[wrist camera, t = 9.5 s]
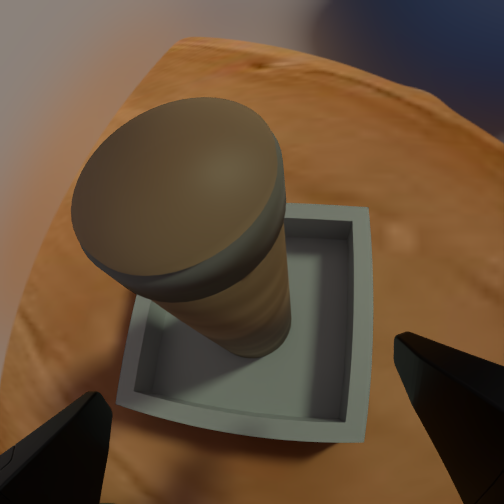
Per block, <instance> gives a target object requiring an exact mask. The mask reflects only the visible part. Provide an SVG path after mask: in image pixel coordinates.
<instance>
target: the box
mask: <svg viewBox="0 0 504 504" xmlns="http://www.w3.org/2000/svg"><path fill="white" fill-rule="evenodd" d="M284 231H285V242H286V253H287V265H288V277H289V290H290V304H291V318H292V320H291V328H290V331H289V334H288V336H287V338H286V340H285V341H284V343H283V344H282V345H281V346H280V347H279V348H278V349H277V350H275V351H274V352H272V353H270V354H268V355H266V356H263V357H259V358H244V357H240V356H237V355H235V354H233V353H231V352H229V351H228V350H226V349H224V348H223V347H221V346H219V345H218V344H216V343H215V342H213V341H211V340H210V339H208V338H207V337H205V336H203V335H202V334H200V333H199V332H197V331H196V330H194V329H193V328H191V327H190V326H188V325H187V324H185V323H183V322H182V321H180V320H179V319H177V318H176V317H175V316H173V315H172V314H170V313H169V312H167V311H166V310H164V309H163V308H161V307H160V306H159V305H157V304H156V303H154V302H153V301H151V300H150V299H146V298H144V297H142V296H139V295H137V296H136V300H135V304H134V308H133V313H132V317H131V322H130V326H129V331H128V336H127V340H126V345H125V351H124V356H123V361H122V367H121V373H120V378H119V385H118V391H117V398H116V404H117V405H120V406H123V407H126V408H129V409H132V410H135V411H138V412H142V413H145V414H149V415H152V416H156V417H159V418H163V419H167V420H171V421H175V422H179V423H183V424H187V425H191V426H196V427H201V428H206V429H211V430H216V431H221V432H227V433H233V434H239V435H246V436H253V437H261V438H270V439H280V440H292V441H306V442H334V443H355V442H364V438H365V430H366V422H367V413H368V404H369V393H370V381H371V365H372V344H373V270H372V248H371V233H370V220H369V209H368V207H354V206H338V205H320V204H297V203H286V212H285V217H284Z"/></svg>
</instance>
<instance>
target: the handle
mask: <svg viewBox="0 0 504 504" xmlns="http://www.w3.org/2000/svg"><path fill="white" fill-rule="evenodd" d="M285 212H286V192H285V180H284V169H283V160H282V153H281V149H280V146H279V143H278V141H277V139H276V138H275V136H274V134H273V133H272V131H271V130H270V128H269V126H268V125H267V123H266V122H265V121H264V120H263V119H262V118H261V116H259V115H258V114H257V113H256V112H254V111H253V110H251V109H250V108H248V107H246V106H244V105H242V104H239V103H237V102H234V101H230V100H226V99H220V98H209V97H201V98H189V99H182V100H178V101H174V102H170V103H167V104H163V105H160V106H158V107H155V108H153V109H150V110H148V111H146V112H144V113H142V114H140V115H138V116H137V117H135V118H133V119H132V120H130V121H128V122H127V123H126V124H124V125H123V126H121V127H120V128H119V129H117V130H116V131H115V132H114V133H113V134H111V135H110V136H109V137H108V138H107V139H106V140H105V141H104V142H103V143H102V144H101V145H100V146H99V147H98V149H97V150H96V151H95V152H94V153H93V155H92V156H91V158H90V159H89V160H88V162H87V164H86V165H85V167H84V168H83V170H82V172H81V174H80V176H79V179H78V181H77V184H76V187H75V189H74V194H73V198H72V206H71V217H72V224H73V228H74V231H75V234H76V236H77V239H78V240H79V242H80V245H81V247H82V249H83V251H84V252H85V254H86V255H87V257H88V258H89V259H90V260H91V261H92V262H93V263H94V264H95V265H96V266H97V267H99V268H100V269H101V270H103V271H104V272H105V273H107V274H108V275H109V276H111V277H112V278H113V279H115V280H116V281H117V282H119V283H120V284H122V285H123V286H124V287H126V288H127V289H129V290H130V291H132V292H133V293H135V294H137V295H139V296H142V297H144V298H146V299H150V300H151V301H153V302H154V303H156V304H157V305H159V306H160V307H161V308H163V309H164V310H166V311H167V312H169V313H170V314H172V315H173V316H175V317H176V318H177V319H179V320H180V321H182V322H183V323H185V324H187V325H188V326H190V327H191V328H193V329H194V330H196V331H197V332H199V333H200V334H202V335H203V336H205V337H207V338H208V339H210V340H211V341H213V342H215V343H216V344H218V345H219V346H221V347H223V348H224V349H226V350H228V351H229V352H231V353H233V354H235V355H237V356H240V357H244V358H259V357H263V356H266V355H268V354H270V353H272V352H274V351H275V350H277V349H278V348H279V347H280V346H281V345H282V344H283V343H284V341H285V340H286V338H287V336H288V334H289V331H290V328H291V320H292V318H291V304H290V290H289V277H288V265H287V253H286V242H285V231H284V217H285Z"/></svg>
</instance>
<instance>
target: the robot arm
mask: <svg viewBox="0 0 504 504" xmlns="http://www.w3.org/2000/svg"><path fill="white" fill-rule="evenodd" d="M394 363H395V366H396V368H397V371H398V373H399V375H400V378H401V380H402V382H403V385H404V387H405V389H406V392H407V394H408V397H409V399H410V401H411V404H412V406H413V408H414V409H415V411H416V413H417V415H418V417H419V418H420V420H421V422H422V424H423V426H424V427H425V429H426V431H427V433H428V435H429V437H430V438H431V440H432V442H433V444H434V446H435V448H436V450H437V452H438V453H439V455H440V457H441V459H442V461H443V463H444V465H445V467H446V469H447V471H448V473H449V475H450V477H451V479H452V481H453V483H454V485H455V487H456V489H457V491H458V493H459V495H460V497H461V499H462V501H463V504H504V366H502V365H499V364H496V363H493V362H490V361H488V360H485V359H482V358H479V357H476V356H474V355H471V354H468V353H465V352H463V351H460V350H457V349H454V348H452V347H449V346H446V345H444V344H441V343H438V342H435V341H433V340H430V339H427V338H425V337H422V336H419V335H417V334H414V333H411V332H404V333H401V334H398V335H396V336H395V339H394ZM111 423H112V411H111V408H110V407H109V405H108V404H107V402H106V401H105V399H104V398H103V396H102V395H101V394H100V393H99V392H97V391H90V392H86V393H85V394H84V395H82V396H81V397H80V398H78V399H77V400H76V401H74V402H73V403H71V404H70V405H69V406H67V407H66V408H65V409H63V410H62V411H61V412H59V413H58V414H57V415H55V416H54V417H52V418H51V419H50V420H48V421H47V422H46V423H44V424H43V425H42V426H40V427H39V428H37V429H36V430H35V431H33V432H32V433H31V434H29V435H28V436H26V437H25V438H24V439H22V440H21V441H20V442H18V443H17V444H16V445H14V446H13V447H11V448H10V449H8V450H7V451H5V452H4V453H3V454H1V455H0V504H99V503H100V496H101V490H102V485H103V479H104V473H105V468H106V463H107V458H108V451H109V441H110V432H111Z"/></svg>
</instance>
